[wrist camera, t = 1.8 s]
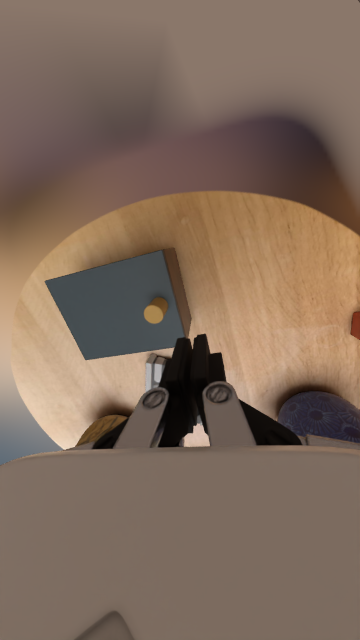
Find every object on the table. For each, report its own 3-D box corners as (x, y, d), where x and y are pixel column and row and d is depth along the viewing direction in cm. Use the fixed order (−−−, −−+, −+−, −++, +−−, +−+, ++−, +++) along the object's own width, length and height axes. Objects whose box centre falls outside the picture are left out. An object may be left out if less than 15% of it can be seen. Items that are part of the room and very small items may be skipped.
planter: (253, 417, 44) (276, 498, 30) (296, 366, 37) (351, 441, 23) (316, 441, 44) (367, 532, 31) (370, 395, 37) (467, 486, 24)
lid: (48, 279, 26) (22, 286, 22) (163, 249, 22) (155, 250, 19) (88, 357, 31) (72, 373, 27) (187, 342, 27) (184, 358, 23)
